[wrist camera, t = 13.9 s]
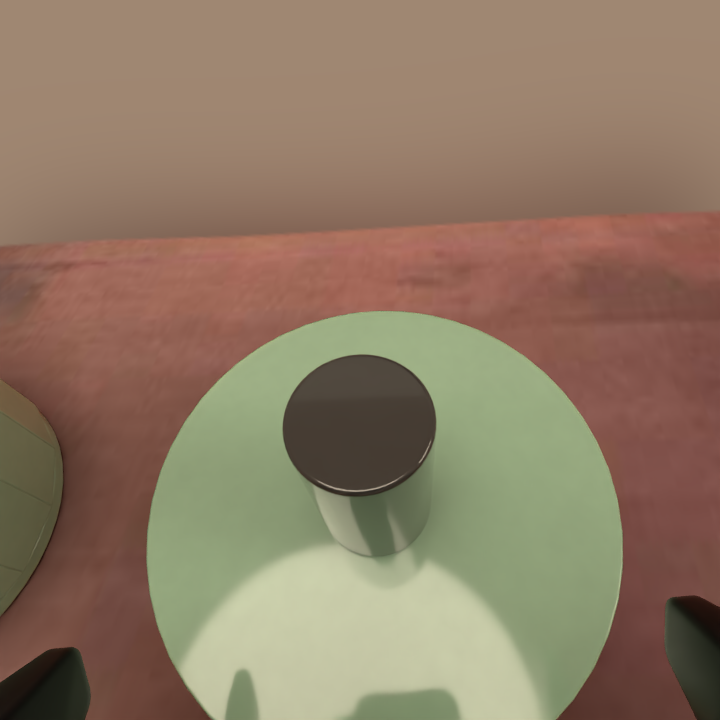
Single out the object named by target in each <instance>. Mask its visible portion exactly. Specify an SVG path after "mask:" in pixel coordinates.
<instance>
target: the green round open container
mask: <svg viewBox="0 0 720 720" xmlns="http://www.w3.org/2000/svg"><path fill="white" fill-rule="evenodd" d="M62 489H63V462H62V457H61V451H60V446H59V444H58V441H57V438H56V435H55V432H54V431H53V429H52V427H51V425H50V424H49V422H48V420H47V419H46V418H45V417H44V415H43V414H42V413H41V412H40V411H39V410H38V408H37V407H36V406H35V404H34V403H32V402H31V401H30V400H28V399H27V398H26V397H24V396H23V395H22V394H20V393H19V392H18V391H16V390H15V389H14V388H12V387H11V386H10V385H8V384H7V383H6V382H4V381H3V380H2V379H0V616H1V615H2V614H3V613H4V612H5V610H6V609H7V608H8V607H9V606H10V605H11V603H12V602H13V601H14V599H15V598H16V597H17V595H18V594H19V593H20V591H21V590H22V589H23V587H24V586H25V585H26V583H27V581H28V580H29V578H30V577H31V575H32V573H33V572H34V570H35V568H36V567H37V565H38V563H39V561H40V559H41V557H42V555H43V553H44V551H45V549H46V547H47V545H48V543H49V540H50V538H51V535H52V532H53V529H54V526H55V524H56V521H57V517H58V512H59V508H60V504H61V498H62Z"/></svg>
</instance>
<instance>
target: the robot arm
mask: <svg viewBox="0 0 720 720" xmlns="http://www.w3.org/2000/svg"><path fill="white" fill-rule="evenodd" d="M665 650H666V654H667V658H668V661H669V663H670V665H671V667H672V669H673V671H674V673H675V675H676V677H677V679H678V682H679V684H680V686H681V688H682V690H683V692H684V694H685V696H686V698H687V700H688V702H689V704H690V706H691V708H692V711H693V713H694V715H695V717H696V719H697V720H720V607H718V606H716V605H714V604H712V603H710V602H709V601H707V600H705V599H703V598H701V597H698V596H681V597H672V598H670V599H668V600H667V603H666V608H665ZM90 697H91V694H90V687H89V683H88V679H87V676H86V672H85V668H84V664H83V661H82V657H81V654H80V652H79V651H78V649H76V648H74V647H68V648H55V649H50V650H47V651H46V652H44V653H43V654H41V655H40V656H38V657H37V658H35V659H34V660H33V661H31V662H30V663H28V664H27V665H25V666H24V667H22V668H21V669H19V670H18V671H17V672H15V673H14V674H12V675H11V676H9V677H8V678H6V679H5V680H3V681H2V682H0V720H85V717H86V714H87V712H88V708H89V704H90Z"/></svg>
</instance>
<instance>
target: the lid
mask: <svg viewBox="0 0 720 720" xmlns="http://www.w3.org/2000/svg"><path fill="white" fill-rule="evenodd" d="M622 571H623V532H622V525H621V518H620V511H619V504H618V499H617V496H616V492H615V489H614V485H613V481H612V478H611V474H610V471H609V468H608V466H607V464H606V461H605V459H604V457H603V454H602V452H601V450H600V447H599V445H598V443H597V441H596V439H595V437H594V436H593V434H592V432H591V430H590V429H589V427H588V425H587V424H586V422H585V420H584V418H583V417H582V415H581V414H580V413H579V411H578V410H577V409H576V407H575V406H574V405H573V403H572V402H571V401H570V400H569V398H568V397H567V396H566V394H565V393H564V392H563V391H562V390H561V389H560V388H559V387H558V386H557V385H556V384H555V383H554V382H553V381H552V380H551V379H550V378H549V377H548V375H547V374H546V373H544V372H543V371H542V370H541V369H540V368H538V367H537V366H536V365H535V364H533V363H532V362H531V361H530V360H529V359H527V358H526V357H525V356H524V355H522V354H520V353H519V352H517V351H516V350H514V349H513V348H511V347H510V346H508V345H506V344H505V343H503V342H502V341H500V340H498V339H496V338H494V337H492V336H490V335H488V334H486V333H484V332H482V331H480V330H477V329H475V328H472V327H469V326H466V325H464V324H461V323H458V322H455V321H452V320H448V319H444V318H440V317H436V316H432V315H427V314H419V313H411V312H404V311H371V312H360V313H351V314H346V315H341V316H335V317H330V318H326V319H323V320H320V321H317V322H313V323H310V324H307V325H304V326H301V327H299V328H297V329H294V330H292V331H290V332H287V333H285V334H283V335H281V336H279V337H277V338H275V339H274V340H272V341H270V342H268V343H266V344H265V345H263V346H261V347H259V348H258V349H256V350H255V351H254V352H252V353H251V354H249V355H248V356H247V357H245V358H244V359H242V360H241V361H239V362H238V363H237V364H236V365H235V366H234V367H232V368H231V369H230V370H229V371H228V372H227V373H226V374H225V375H223V376H222V377H221V378H220V379H219V380H218V381H217V382H216V383H215V384H214V385H213V386H212V388H211V389H210V390H209V391H208V392H207V393H206V394H205V395H204V396H203V398H202V399H201V400H200V401H199V403H198V404H197V405H196V407H195V408H194V410H193V411H192V412H191V414H190V415H189V416H188V418H187V419H186V421H185V422H184V424H183V426H182V427H181V429H180V431H179V433H178V435H177V436H176V438H175V440H174V442H173V444H172V445H171V447H170V450H169V452H168V455H167V457H166V459H165V462H164V464H163V467H162V469H161V472H160V474H159V478H158V482H157V485H156V489H155V492H154V496H153V499H152V504H151V511H150V517H149V524H148V530H147V572H148V582H149V592H150V598H151V602H152V606H153V610H154V614H155V619H156V623H157V627H158V629H159V632H160V634H161V637H162V640H163V642H164V645H165V647H166V650H167V652H168V655H169V658H170V659H171V661H172V663H173V665H174V667H175V668H176V670H177V672H178V674H179V675H180V677H181V679H182V681H183V683H184V684H185V686H186V688H187V689H188V691H189V692H190V693H191V694H192V696H193V697H194V698H195V700H196V701H197V702H198V704H199V705H200V706H201V707H202V709H203V710H204V711H205V713H206V714H207V715H208V716H209V717H210V718H211V719H212V720H557V718H558V717H559V716H560V715H561V714H562V713H563V712H564V710H565V709H566V708H567V707H568V706H569V705H570V704H571V703H572V701H573V700H574V699H575V697H576V696H577V694H578V693H579V691H580V690H581V688H582V687H583V685H584V683H585V682H586V680H587V679H588V677H589V676H590V674H591V673H592V671H593V669H594V668H595V665H596V663H597V661H598V659H599V656H600V654H601V652H602V650H603V647H604V645H605V643H606V641H607V638H608V636H609V633H610V630H611V626H612V623H613V619H614V615H615V612H616V608H617V605H618V601H619V594H620V586H621V578H622Z"/></svg>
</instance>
